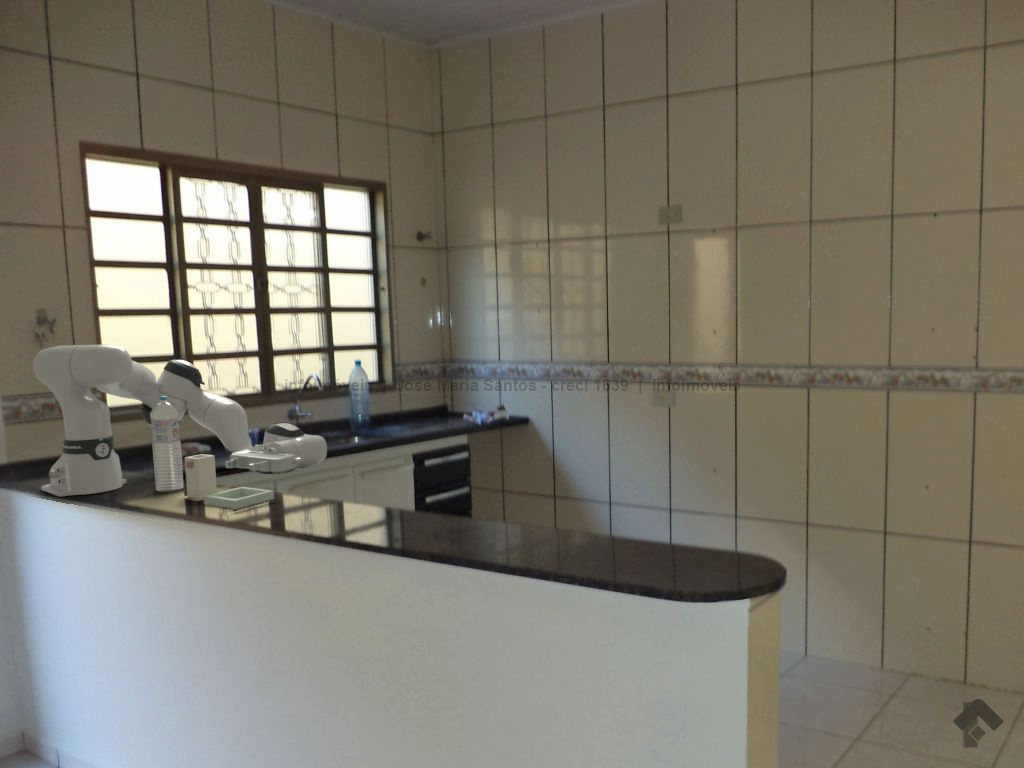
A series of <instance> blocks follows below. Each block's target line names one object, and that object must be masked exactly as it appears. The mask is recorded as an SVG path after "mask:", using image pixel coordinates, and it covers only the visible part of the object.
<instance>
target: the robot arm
mask: <svg viewBox="0 0 1024 768" xmlns="http://www.w3.org/2000/svg"><path fill="white" fill-rule="evenodd" d="M32 369H33V373H34V375H35V377H36V379H37V380H38V381H39V382H40V383H41V384H43V385H44V386H45V387H47V388H48V389H49V390H50V391H51V392H52V394H53V395H54V397H55V398H56V401H57V402H58V404H59V406H60V409H61V412H62V418H63V424H64V434H65V435H64V436H65V439H64V440H63V441H61V443H63V444H61V446H62V453H63V454H62V455H61V456H60V457H59V458H58V459H57V460H56V462H55V463H54V464H53V465H52V466H51V467H50V470H49V471H48V476H49V479H50V483H48V484H44V485H42V486H41V488H40V490H41V491H43V492H46V493H49V494H51V495H54V496H56V497H66V496H67V497H68V496H78V495H79V496H80V495H82V496H83V495H91V494H93V495H94V494H98V493H105V492H110V491H114V490H117V489H120V488H122V487H123V486H124V484H127V479H126V478H123V473H122V468H121V467H122V466H121V461H120V457H119V454H118V453H116V451H115V450H114V449H115V447H116V446H115V443H116V441H115V439H114V435H113V434H112V422H111V411H110V408H109V406H108V404H106V403H105V402H104V401H101V400H100V399H98V398H97V397H96V396H95V395H94V394H93V392H92V390H91V388H90V387H95V388H96V389H97V390H98V391H100V392H101V393H103V394H107V395H112V396H116V397H117V398H118V397H119V398H124V399H130V400H131V399H132V400H137V401H139V402H141V404H142V406H141V405H138V409H139V410H140V411H141V416H142V418H143V420H144V422H145V423H147V424H148V425H149V426H150V427H151V428H152V425H151V419H150V417H151V416H150V413H151V411H152V410H153V408H154V407H155V406H156V405H157V404H159V403H160V399H159V397H162V396H167V402H168V403H170V404H171V405H173V406H174V407H175V408H176V409H177V411H178V415H179V417H178V422H179V425H180V423H181V420H182V419H183V417H184V416H185V414H186V412H187V414H188V416H189V417H190V418H191V419H192V420H193V421H194V422H196V423H197V424H198V425H199V426H201V427H203V428H204V429H206V430H208V431H210V432H212V433H213V434H214V435H215V436H216V437H217V438H218V439H219V440H220V442H221V444H223V447H224V449H225V451H226V452H227V453H229V454H230V455H229V460H226V461H225V468H226V469H234V468H239V469H248V470H249V471H252V472H256V473H259V474H262V475H280V474H286V473H291V472H293V471H294V472H295V470H297V469H305V468H310V467H313V466H315V465H318V464H321V463H322V462H323V461H324V460H325V459H326V457H327V453H328V445H327V442H326V439H325V438H324V437H323V436H320V435H316V434H315V435H313V434H306V433H304V432H303V431H302V430H301V429H300V428H299V427H298V426H297V425H295V423H291V422H284V421H283V422H275V423H273V424H270V425H269V426H268V427H267V428H266V429H265V431H264V434H263V435H264V436H263V443H260V444H255V445H254V446H253V445H252V442H251V439H250V436H249V435H250V434H249V425H248V417H247V413H246V411H245V409H244V407H243V406H242V405H241V404H239V403H238V402H237V401H235V400H233V399H231V398H228V397H226V396H224V395H222V394H217V393H214V392H210V391H207V390H204V389H203V388H202V386H201V385H204V386H205V385H206V383H205V381H203V377H202V373H201V371H200V369H199V368H197V367H196V366H195V365H194V364H193V363H191V362H189V361H187V360H183V359H171V360H169V361H168V362H167V363H166V365H165V366H164V367H163V371H162V372H161V374H160V375H159V377H158V379H157V377H156V375H155V373H154V372H153V371H152V370H150V369H149V368H148V367H146V366H145V365H143V364H141V363H140V362H137V361H135V360H132V356H131V355H130V353H129V351H127V349H125V347H121V346H116V345H110V344H78V345H76V344H74V345H56V346H52V347H51V346H50V347H47V348H43V349H41V350H40V351H38V352H37V353H36V355H35V356H34V359H33V363H32Z"/></svg>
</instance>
